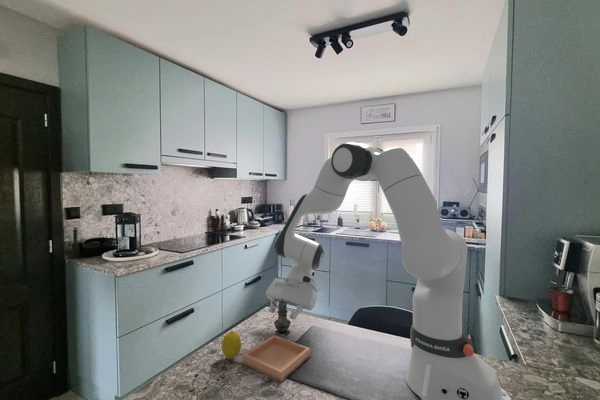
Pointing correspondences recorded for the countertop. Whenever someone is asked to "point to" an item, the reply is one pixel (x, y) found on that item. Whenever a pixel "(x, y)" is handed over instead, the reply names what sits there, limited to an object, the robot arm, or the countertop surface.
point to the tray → (276, 357)
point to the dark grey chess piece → (282, 320)
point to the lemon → (231, 344)
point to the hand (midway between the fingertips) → (281, 315)
